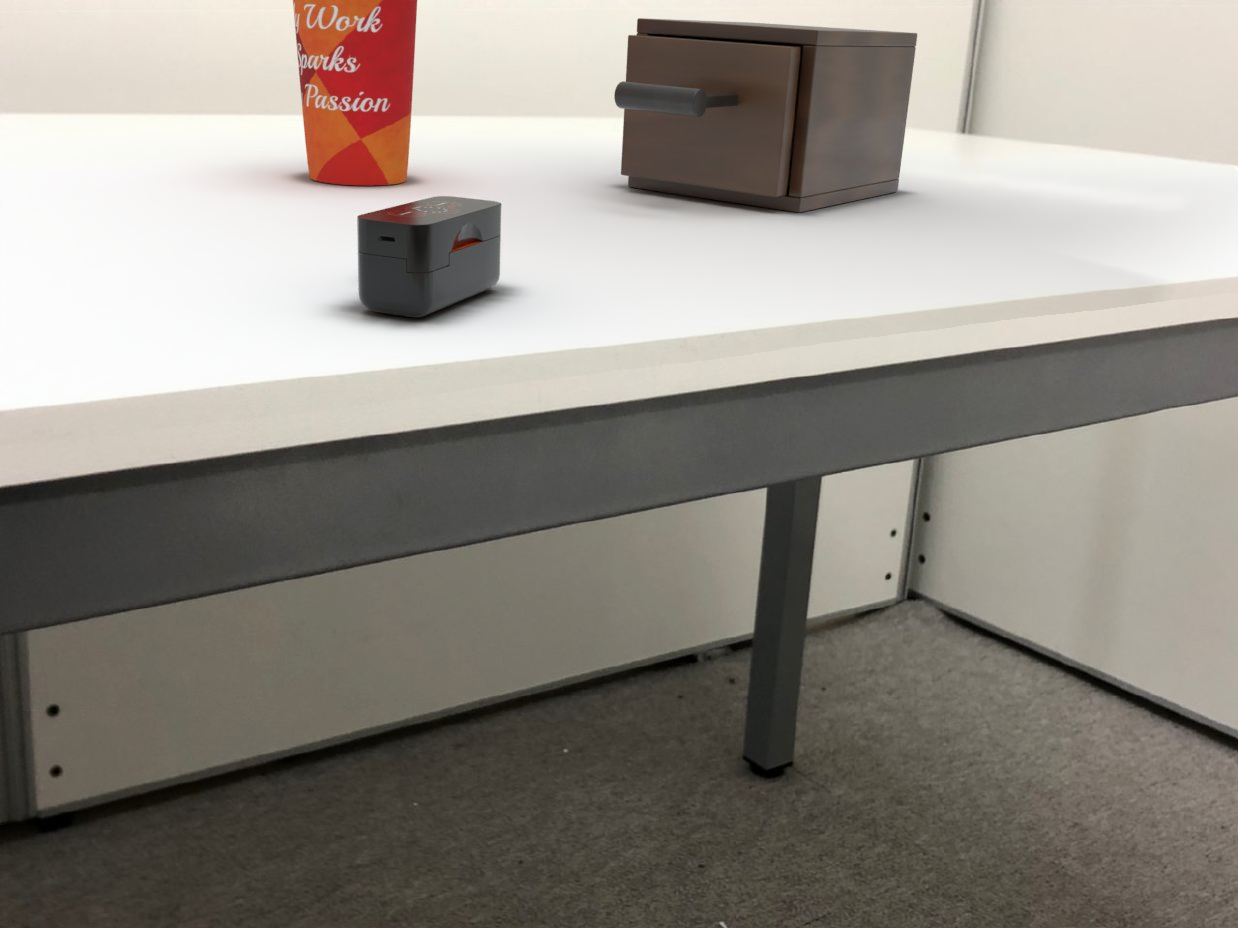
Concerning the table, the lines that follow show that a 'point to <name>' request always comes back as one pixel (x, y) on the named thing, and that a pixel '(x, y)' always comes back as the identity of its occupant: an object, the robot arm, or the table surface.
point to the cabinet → (823, 110)
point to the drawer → (710, 112)
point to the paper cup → (356, 88)
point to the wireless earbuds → (427, 254)
